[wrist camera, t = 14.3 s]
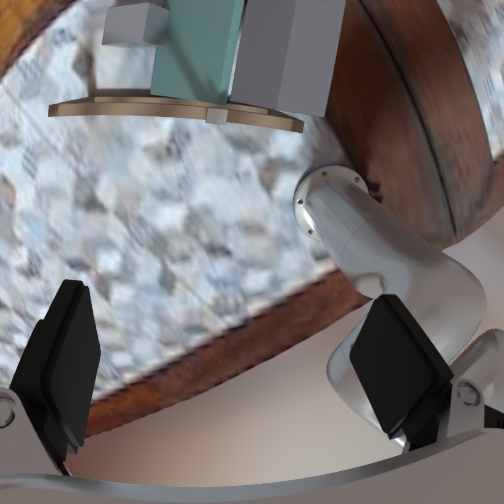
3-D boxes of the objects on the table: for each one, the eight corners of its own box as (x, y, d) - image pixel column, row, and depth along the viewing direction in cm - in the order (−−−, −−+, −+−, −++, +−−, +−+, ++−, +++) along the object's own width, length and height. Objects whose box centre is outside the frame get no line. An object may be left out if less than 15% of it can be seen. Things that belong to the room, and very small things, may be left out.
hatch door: (351, -35, 20) (301, -71, 15) (323, 122, 28) (266, 115, 23) (219, -15, 33) (171, -28, 28) (199, 96, 41) (150, 94, 36)
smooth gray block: (149, 2, 25) (108, 8, 26) (142, 41, 27) (101, 44, 28) (170, 11, 29) (131, 14, 30) (163, 46, 32) (125, 47, 33)
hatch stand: (299, -19, 31) (340, -53, 18) (274, 119, 41) (306, 136, 29) (112, -34, 25) (78, -73, 13) (88, 105, 36) (41, 119, 23)
